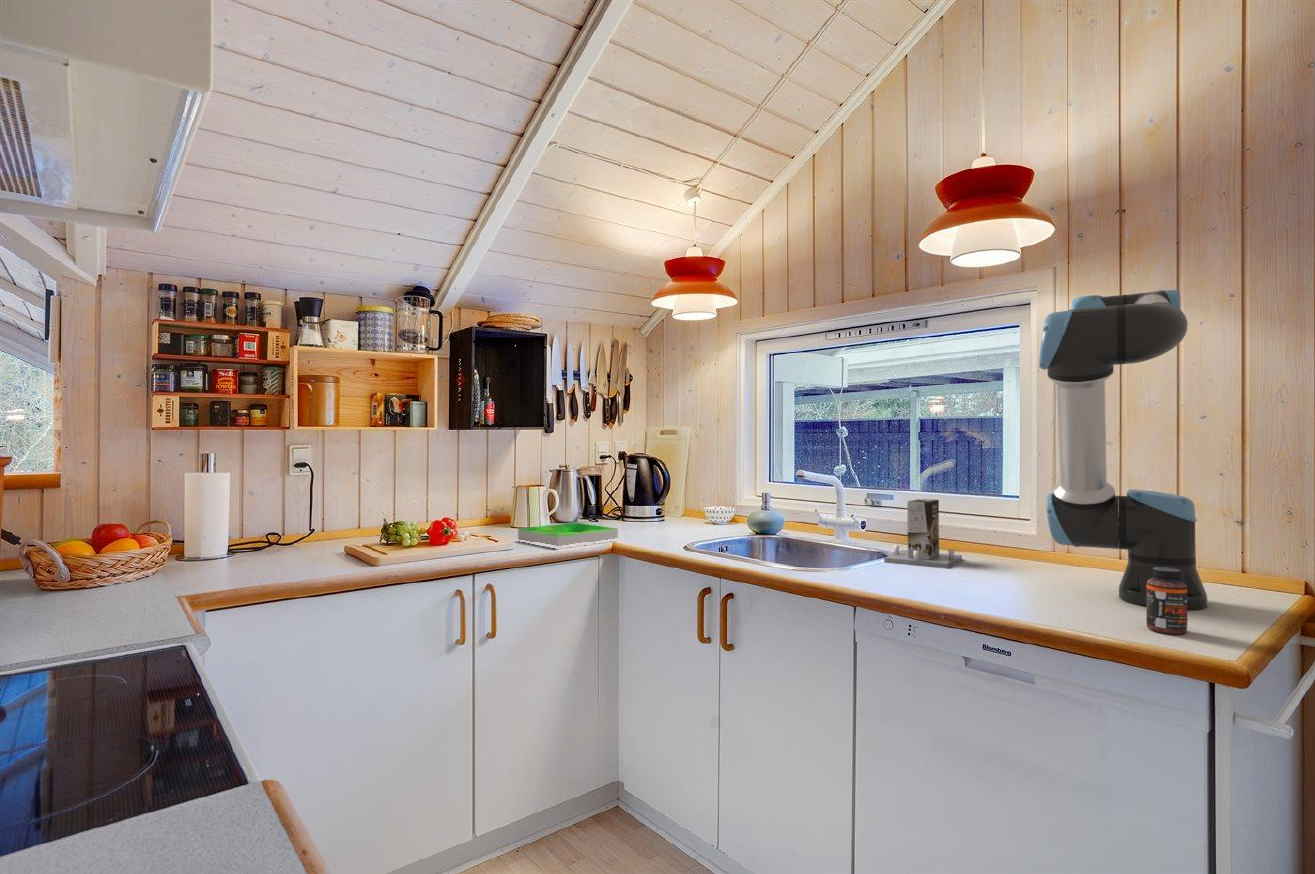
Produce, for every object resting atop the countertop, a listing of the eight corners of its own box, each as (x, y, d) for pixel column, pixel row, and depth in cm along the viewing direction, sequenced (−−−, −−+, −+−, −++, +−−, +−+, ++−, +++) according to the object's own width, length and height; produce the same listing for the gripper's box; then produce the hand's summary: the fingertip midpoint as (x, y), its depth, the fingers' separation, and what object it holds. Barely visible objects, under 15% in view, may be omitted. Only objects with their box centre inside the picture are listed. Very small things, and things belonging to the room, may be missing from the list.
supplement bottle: (1168, 636, 120) (1167, 572, 120) (1138, 627, 126) (1137, 566, 126) (1196, 634, 121) (1195, 570, 121) (1165, 625, 127) (1164, 564, 127)
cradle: (947, 568, 183) (947, 554, 183) (884, 561, 194) (884, 548, 194) (962, 559, 196) (961, 546, 196) (902, 553, 206) (902, 541, 206)
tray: (558, 551, 222) (557, 536, 222) (518, 543, 241) (518, 529, 241) (617, 542, 239) (617, 528, 239) (576, 535, 258) (576, 522, 258)
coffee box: (930, 560, 189) (929, 501, 189) (906, 557, 193) (906, 500, 193) (940, 555, 196) (939, 499, 196) (917, 553, 201) (916, 498, 200)
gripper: (1077, 361, 190) (1078, 437, 190) (1066, 353, 170) (1067, 438, 170) (1109, 359, 186) (1110, 437, 186) (1102, 350, 166) (1103, 437, 166)
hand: (1090, 437), depth 178 cm, fingers open, 13 cm apart
